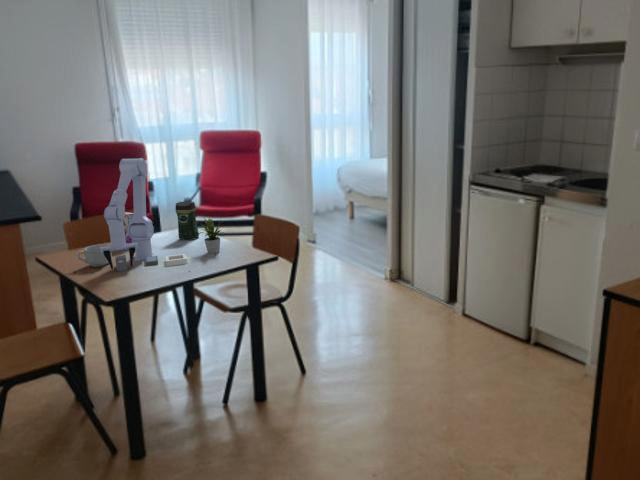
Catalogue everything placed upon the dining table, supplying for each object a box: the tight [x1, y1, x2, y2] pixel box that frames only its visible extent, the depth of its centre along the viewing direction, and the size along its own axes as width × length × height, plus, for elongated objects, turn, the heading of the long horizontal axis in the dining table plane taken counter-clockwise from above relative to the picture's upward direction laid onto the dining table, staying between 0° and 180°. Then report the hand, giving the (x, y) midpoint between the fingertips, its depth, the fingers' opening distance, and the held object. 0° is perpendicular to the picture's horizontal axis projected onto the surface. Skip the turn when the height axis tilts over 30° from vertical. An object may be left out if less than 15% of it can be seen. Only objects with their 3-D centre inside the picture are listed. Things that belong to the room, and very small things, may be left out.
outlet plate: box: [141, 253, 193, 270], centre depth 253 cm, size 13×20×3 cm, turn 107°
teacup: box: [76, 244, 113, 268], centre depth 256 cm, size 14×11×8 cm
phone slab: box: [144, 255, 159, 266], centre depth 254 cm, size 9×5×2 cm, turn 17°
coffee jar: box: [175, 201, 200, 241], centre depth 295 cm, size 10×8×19 cm
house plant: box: [198, 217, 225, 255], centre depth 267 cm, size 14×14×16 cm
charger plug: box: [114, 255, 128, 272], centre depth 246 cm, size 4×4×6 cm
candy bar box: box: [123, 211, 134, 243], centre depth 286 cm, size 11×5×16 cm, turn 58°
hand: (121, 267), depth 246 cm, fingers open, 7 cm apart
